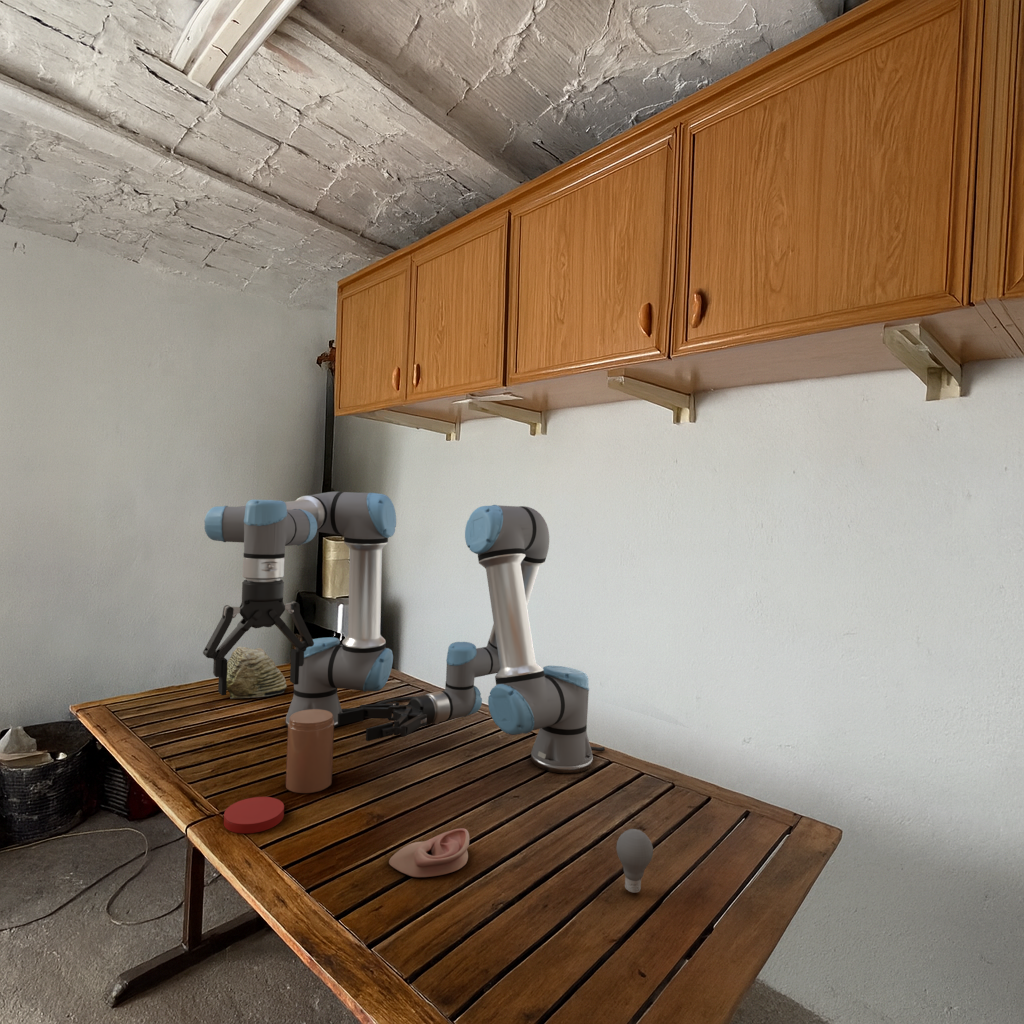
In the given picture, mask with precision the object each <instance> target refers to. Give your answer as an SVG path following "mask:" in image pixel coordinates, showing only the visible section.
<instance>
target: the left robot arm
mask: <svg viewBox="0 0 1024 1024" xmlns="http://www.w3.org/2000/svg"><path fill="white" fill-rule="evenodd" d="M396 514H397V513H396V508H395V505H394V503H393V501H392V499H391V498H390V497H389V496H388V495H387V494H384V493H377V492H355V491H354V492H352V491H351V492H350V491H327V492H322V493H315V494H314V493H313V494H309V495H302V496H300V497H298V498H297V499H296V500H289V501H284V500H280V499H279V500H277V499H276V500H275V499H250V500H248V501H247V502H246V503H245V505H241V506H240V505H239V506H228V505H223V506H212V507H211V508H210V509H209V510H208V511H207V512H206V515H205V517H204V532H205V534H206V536H207V537H208V538H209V539H210V540H212V541H214V542H215V541H217V542H223V543H243V558H242V559H243V560H242V578H244V580H243V581H242V583H241V603H240V605H239V606H232V605H231V606H230V605H229V604H226V605H224V606H223V609H222V616H221V618H220V620H219V622H218V623H217V625H216V627H215V629H214V631H213V633H212V635H211V636H210V637H209V640H208V642H207V643H206V645H205V647H204V649H203V650H202V654H203V656H205V657H206V658H207V659H212V660H213V666H212V667H213V670H212V673H213V675H214V676H213V677H215V678H218V686H217V692H218V693H219V694H220V696H226V695H227V689H226V688H227V662H228V659H227V658H225V657H226V656H227V654H228V653H229V652H230V651H231V650H232V648H234V646H235V645H237V643H238V641H239V640H240V639H241V638H242V637H243V636H244V635H245V634H246V633H247V632H248V631H249V630H250V629H251V628H253V629H261V628H264V627H265V628H272V626H275V627H276V628H277V629H278V630H279V631H280V633H282V634H283V636H285V638H286V639H287V640H288V641H289V642H290V644H292V646H294V647H295V648H293V649H292V648H291V649H290V671H289V672H290V673H289V682H290V683H292V684H293V695H292V696H293V697H292V699H291V702H290V704H289V708H288V711H287V713H286V715H285V726H286V728H288V723H289V718H290V716H291V715H292V714H294V713H296V712H299V711H303V710H309V709H321V710H326V711H329V712H331V713H332V714H333V720H334V729H335V728H337V727H339V726H340V725H338V713H343V712H348V711H352V710H357V709H360V707H349V708H342V706H341V702H340V699H339V695H338V689H342V690H343V689H344V690H351V691H353V690H354V691H359V692H360V691H362V692H365V693H366V692H379V691H381V690H382V689H383V688H384V687H385V685H386V684H387V682H388V680H389V678H390V675H391V673H392V668H393V664H394V663H393V662H394V654H393V650H392V649H391V648H389V647H386V644H387V643H386V639H385V638H384V637H383V636H382V634H381V619H382V618H381V616H382V613H381V612H382V575H383V573H382V571H383V568H382V567H383V549H384V548H385V547H386V545H388V543H389V538H391V537H394V535H395V532H396V527H397V515H396ZM317 533H323V534H333V535H340V536H341V535H343V543H344V545H346V546H347V547H348V549H349V565H348V566H349V569H348V570H349V571H348V617H347V618H348V619H347V620H348V623H347V625H348V627H347V628H348V630H347V631H348V632H347V636H346V637H345V638H344V639H343V640H342V641H340V639H339V638H338V637H334V636H331V637H330V636H329V637H318V638H313V637H312V635H311V633H310V631H309V629H308V626H307V625H306V623H305V621H304V619H303V616H302V615H301V609H300V603H299V602H297V601H294V600H291V601H289V602H287V603H284V588H285V587H284V586H285V582H284V580H283V579H282V578H284V577H285V556H286V547H289V546H291V547H292V546H301V545H305V544H307V543H309V542H311V541H312V540H313V539H314V538H315V537H316V535H317ZM285 611H286V612H287V613H288V614H289V615H290V618H291V619H292V621H293V623H294V625H295V627H296V630H298V633H299V635H300V638H301V640H302V641H301V640H300V639H299V638H298V636H296V634H295V633H294V632H293V631H292V630H291V629H290V628H289V625H287V623H286V622H285V621H284V620H283V619H282V618H281V616H282V615H283V614H284V612H285ZM238 614H239V615H240V616H241V617H242V619H241V620H240V621H238V623H237V625H236V627H234V629H233V630H232V631H231V633H230V634H229V635H228V636H227V637H226V638H225V640H223V639H224V636H225V634H226V632H227V631H228V629H229V627H230V625H231V623H232V621H233V619H234V618H236V617H237V615H238ZM222 641H223V642H222ZM221 642H222V643H221ZM220 643H221V644H220ZM340 643H341V644H340ZM413 697H414V696H402V697H395V698H389V699H385V700H380V701H378V702H376V703H375V704H388V703H395V702H403V701H410V700H411V699H412V698H413Z"/></svg>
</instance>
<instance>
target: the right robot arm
mask: <svg viewBox="0 0 1024 1024" xmlns="http://www.w3.org/2000/svg"><path fill="white" fill-rule="evenodd" d="M464 540H465V544H466V546H467V548H468V549H469V551H470V552H472V553H473V554H476V555H477V560H478V561H477V562H478V564H479V565H480V566H482V567H483V568H484V569H485V572H486V579H487V580H486V581H487V586H488V587H487V588H488V592H489V600H490V606H491V613H492V621H493V624H492V628H491V632H490V635H489V638H488V641H487V645H486V646H482V647H477V646H476V644H475V643H472V642H470V641H469V642H468V641H455V642H452V643H450V644H449V646H448V648H447V653H446V654H447V656H446V660H445V661H446V670H445V671H446V673H445V685H444V690H440V691H434V692H429V693H426V694H422V695H417V696H412V697H413V698H412V699H411V700H408V701H409V702H408V703H407V704H400V701H396V702H390V703H386V704H376V703H374V704H372V703H371V704H360V705H359V708H360V709H357V710H352V711H348V712H343V713H338V725H339V726H342V725H348V724H352V723H357V722H364V719H382V720H383V719H385V720H386V719H387V720H388V721H390V722H387V723H383V724H378V725H375V726H370V727H366V728H365V741H366V742H370V741H373V740H374V741H375V740H378V739H382V738H386V737H391V736H393V735H394V736H400V737H402V738H405V737H407V736H408V735H410V734H412V733H414V732H415V731H417V730H418V729H420V728H423V727H428V726H430V725H439V724H440V723H442V722H446V721H450V720H454V719H458V718H466V717H468V716H470V715H474V714H476V713H478V712H479V710H480V709H481V707H482V705H483V698H482V696H481V694H482V693H481V690H480V689H479V688H478V687H477V686H476V685H475V679H476V678H480V677H485V676H489V675H495V676H494V679H495V680H494V681H495V685H494V686H493V687H492V688H491V690H490V692H489V695H488V696H487V697H488V699H487V705H488V710H489V713H490V717H491V718H492V720H493V722H494V724H495V725H496V726H497V727H498V728H499V730H501V731H502V732H503V733H505V734H507V735H511V736H517V735H523V734H526V735H527V734H530V733H531V732H533V731H536V730H538V732H537V734H536V738H535V740H534V743H533V746H532V748H531V751H530V752H531V753H530V760H531V762H532V763H533V765H535V766H536V767H537V768H540V769H542V770H544V771H547V772H550V773H556V774H578V773H582V772H585V771H588V770H590V769H591V767H592V766H593V760H594V759H593V758H594V756H593V751H594V752H604V751H606V749H605V746H601V747H600V746H591V744H590V740H589V736H588V732H587V729H588V728H587V727H588V712H589V711H588V710H589V693H590V687H589V685H590V683H589V680H590V679H589V676H588V675H587V673H586V672H584V671H582V670H580V669H578V668H577V669H576V668H573V667H569V666H561V665H546V666H543V667H542V666H540V665H539V664H538V663H537V660H536V654H535V649H534V641H533V636H532V629H531V623H530V615H529V611H528V605H529V602H530V599H531V596H532V592H533V588H534V586H535V582H536V579H537V576H538V574H539V569H540V567H541V566H542V565H544V564H545V563H546V561H547V560H546V559H547V557H548V554H549V549H550V532H549V527H548V524H547V522H546V520H545V517H544V516H543V515H542V514H541V513H540V512H539V511H537V510H536V509H534V508H532V507H530V506H525V505H523V506H522V505H520V506H515V505H498V504H492V505H481V506H479V507H477V508H475V509H474V510H473V511H472V512H471V514H470V515H469V518H468V520H467V521H466V524H465V530H464Z"/></svg>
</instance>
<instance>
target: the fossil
mask: <svg viewBox="0 0 1024 1024" xmlns="http://www.w3.org/2000/svg"><path fill="white" fill-rule="evenodd" d="M287 687H288V686H287V680H286V678H285V676H284V674H283V673H282V672H281V669H279V668H278V667H277V665H276V663H275V662H274V660H273V659H272V658H271V657H270V656H269V655H268V654H267V653H266V652H265V650H264V649H263V648H260V647H258V648H251V647H247V646H246V647H245V646H238V647H237V648H236V649H235V650H233V651H232V653H231V656H230V657H229V659H227V688H226V691H228V693H229V698H230V699H250V698H264V697H271V696H275V695H281V694H284V693H285V691H286V689H287Z"/></svg>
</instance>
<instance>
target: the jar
mask: <svg viewBox="0 0 1024 1024" xmlns="http://www.w3.org/2000/svg"><path fill="white" fill-rule="evenodd" d="M286 737H287V738H286V765H285V770H286V771H285V788H286V789H287V790H288V791H290V792H293V793H297V794H312V793H317V792H321V791H323V790H326V789H327V788H329V787H330V786H331V785H332V784H333V768H334V767H333V766H334V765H333V764H334V738H335V728H334V720H333V714H332V713H331V712H329V711H326V710H321V709H309V710H303V711H299V712H296V713H294V714H292V715H291V716H290V718H289V723H288V727H287V735H286Z"/></svg>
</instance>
